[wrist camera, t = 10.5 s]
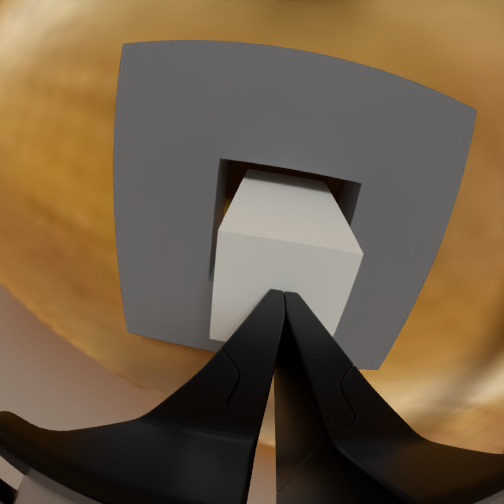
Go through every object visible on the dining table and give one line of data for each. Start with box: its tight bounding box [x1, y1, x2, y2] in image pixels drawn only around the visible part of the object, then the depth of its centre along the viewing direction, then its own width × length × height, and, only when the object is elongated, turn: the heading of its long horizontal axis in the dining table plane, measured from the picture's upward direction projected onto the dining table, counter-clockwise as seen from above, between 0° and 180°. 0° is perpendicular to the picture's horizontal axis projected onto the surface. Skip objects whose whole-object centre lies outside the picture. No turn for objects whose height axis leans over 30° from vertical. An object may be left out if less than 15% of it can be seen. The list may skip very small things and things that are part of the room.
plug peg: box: [209, 169, 364, 342], centre depth 12 cm, size 4×4×8 cm
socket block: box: [113, 40, 477, 370], centre depth 15 cm, size 16×16×3 cm
